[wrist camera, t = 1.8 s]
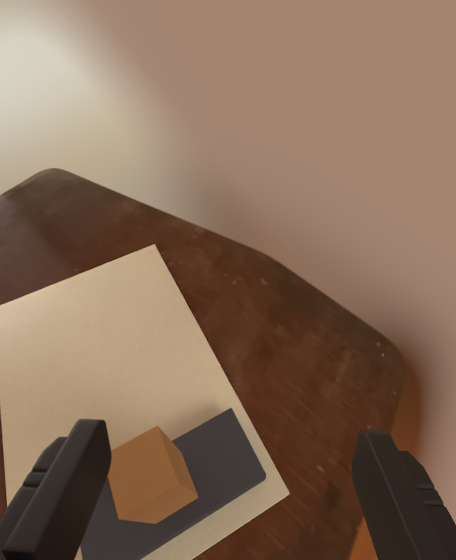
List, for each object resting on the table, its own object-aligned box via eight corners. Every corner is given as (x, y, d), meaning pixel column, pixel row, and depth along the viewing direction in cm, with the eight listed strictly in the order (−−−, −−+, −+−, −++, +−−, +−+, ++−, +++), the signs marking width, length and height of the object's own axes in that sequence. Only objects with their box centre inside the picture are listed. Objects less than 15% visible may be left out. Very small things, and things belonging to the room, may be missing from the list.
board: (155, 246, 39) (154, 243, 38) (289, 494, 23) (290, 493, 22) (-5, 310, 34) (-7, 308, 34) (22, 672, 18) (18, 674, 18)
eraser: (232, 414, 26) (224, 369, 19) (266, 479, 23) (270, 454, 16) (83, 499, 23) (7, 483, 16) (100, 585, 20) (17, 611, 13)
